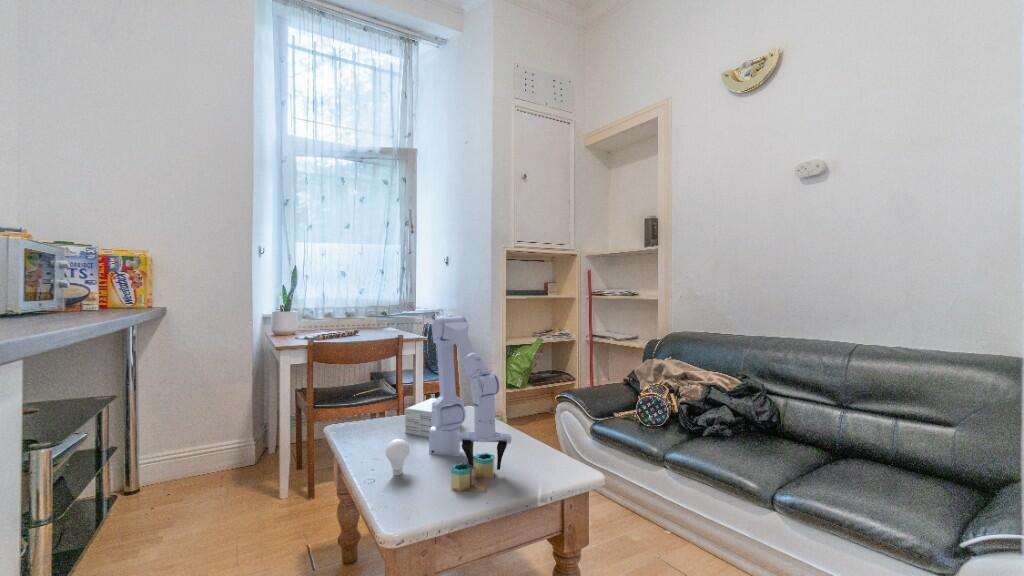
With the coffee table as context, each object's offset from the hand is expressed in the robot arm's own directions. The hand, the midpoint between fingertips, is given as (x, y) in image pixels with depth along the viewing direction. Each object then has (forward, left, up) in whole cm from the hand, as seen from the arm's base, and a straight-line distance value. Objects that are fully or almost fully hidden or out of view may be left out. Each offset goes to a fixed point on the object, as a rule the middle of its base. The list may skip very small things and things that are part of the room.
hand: (485, 467), depth 121 cm
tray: (-2, +8, -3) cm, 9 cm away
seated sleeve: (-5, -7, -2) cm, 9 cm away
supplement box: (-26, +41, -4) cm, 49 cm away
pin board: (-2, -4, -3) cm, 6 cm away
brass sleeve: (0, 0, -2) cm, 2 cm away
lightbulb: (-24, -1, -4) cm, 25 cm away
